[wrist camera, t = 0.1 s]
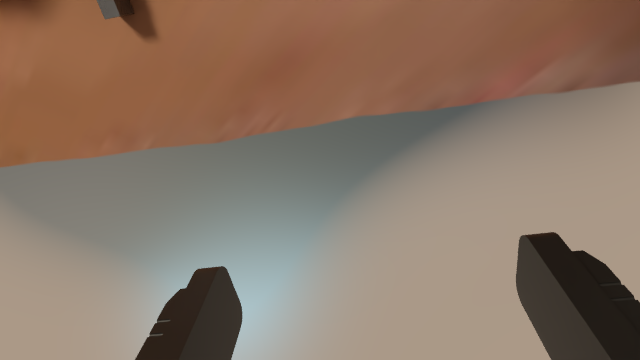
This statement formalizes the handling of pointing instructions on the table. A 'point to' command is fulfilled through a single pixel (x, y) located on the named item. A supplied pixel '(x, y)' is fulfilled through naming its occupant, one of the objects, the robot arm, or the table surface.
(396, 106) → the table surface
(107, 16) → the guide rails
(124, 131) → the table surface
